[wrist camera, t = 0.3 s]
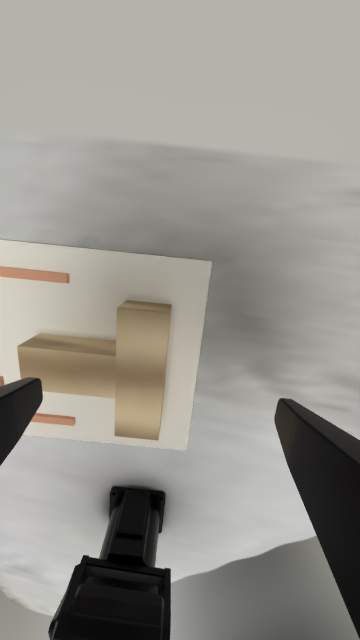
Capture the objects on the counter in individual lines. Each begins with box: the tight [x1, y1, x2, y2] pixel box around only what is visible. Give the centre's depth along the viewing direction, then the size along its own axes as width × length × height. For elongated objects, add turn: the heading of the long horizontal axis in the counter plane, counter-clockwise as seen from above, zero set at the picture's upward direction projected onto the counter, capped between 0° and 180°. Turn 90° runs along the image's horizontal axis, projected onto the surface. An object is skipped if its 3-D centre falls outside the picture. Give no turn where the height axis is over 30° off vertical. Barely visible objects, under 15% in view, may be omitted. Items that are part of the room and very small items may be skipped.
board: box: [0, 240, 212, 451], centre depth 22 cm, size 20×30×1 cm, turn 84°
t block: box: [17, 300, 172, 440], centre depth 21 cm, size 12×12×3 cm
